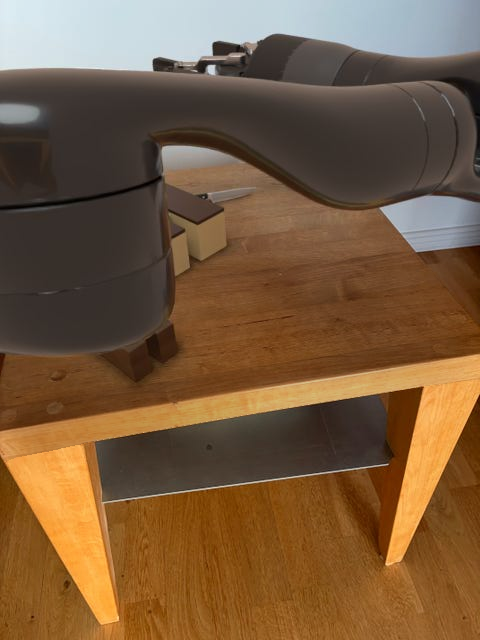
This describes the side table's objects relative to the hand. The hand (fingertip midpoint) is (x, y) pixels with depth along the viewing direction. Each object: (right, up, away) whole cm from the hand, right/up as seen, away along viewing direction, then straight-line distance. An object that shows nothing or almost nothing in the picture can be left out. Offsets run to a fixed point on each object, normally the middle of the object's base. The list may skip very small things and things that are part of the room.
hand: (186, 59), depth 53 cm
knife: (+2, -6, +41) cm, 42 cm away
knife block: (-8, -32, +11) cm, 34 cm away
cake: (-7, -16, +30) cm, 34 cm away
